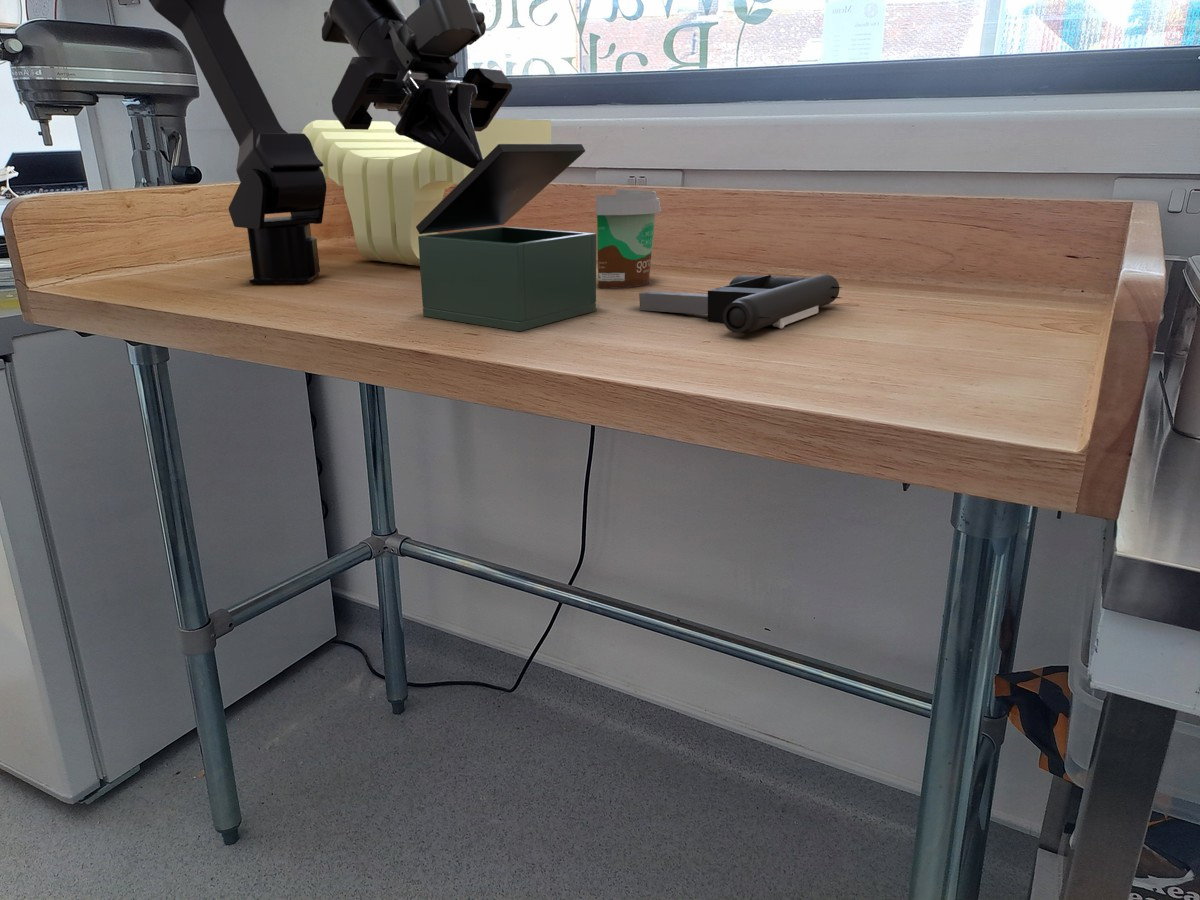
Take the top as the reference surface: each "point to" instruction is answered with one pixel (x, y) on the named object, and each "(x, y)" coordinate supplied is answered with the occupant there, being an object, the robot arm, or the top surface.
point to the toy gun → (750, 301)
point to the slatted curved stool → (400, 178)
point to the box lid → (500, 186)
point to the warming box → (508, 276)
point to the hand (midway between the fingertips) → (478, 165)
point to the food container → (625, 237)
